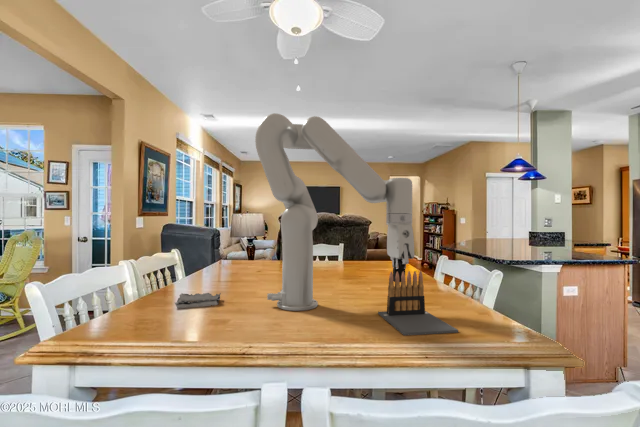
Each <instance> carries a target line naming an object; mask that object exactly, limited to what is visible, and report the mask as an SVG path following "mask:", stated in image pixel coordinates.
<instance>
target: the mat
mask: <svg viewBox="0 0 640 427" xmlns="http://www.w3.org/2000/svg"><path fill="white" fill-rule="evenodd" d="M377 314H378V315H379V316H380V317H381V318H382V319H384V321H386V322H387V323H388V324H390V325H391V326H392V327H393V328H395V330H397V331H398V332H399V333H400V334H402V335H403V336H417V335H419V336H420V335H436V334H454V333H455V334H456V333H457V334H458V333H459V330H458V329H457V328H456V327H454V326H452V325H450V324H448V323H447V322H446V321H443V320H442V319H440V318H439V317H437V316H435V315H433V314H431V313H430V312H428V311H426V310H425V314H415V315H393V316H389V315H388V314H387V310H386V311H385V310H384V311H378V313H377Z"/></svg>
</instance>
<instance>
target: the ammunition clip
mask: <svg viewBox="0 0 640 427" xmlns="http://www.w3.org/2000/svg"><path fill="white" fill-rule="evenodd" d="M388 276H389V277H388V288H387V290H388V291H387V299H386V300H387V304H386V305H387V306H386V311H387V314H388V315H389V316H393V315H415V314H425V311H426V306H425V304H426V303H425V300H426V299H425V295H424V293H425V290H424V289H425V288H424V276H423V272H422V270H420V271H419V273H418V276H417V271H416V270H414V271H413V274H412V275H411V271H410V270H408V272H407V276H406V272H405V273H404V271H403V272H402V276H401V282H399V273H398V271H397V272H396V276H395V282H394V281H393V271H390V273H389V275H388Z"/></svg>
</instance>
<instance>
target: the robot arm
mask: <svg viewBox="0 0 640 427" xmlns="http://www.w3.org/2000/svg"><path fill="white" fill-rule="evenodd" d="M254 137H255V141H254V142H255V148H256V153H257V156H258V158H259V161H260V163H261V166H262V168H263V172H264V174H265V177H266V179H267V182H268V185H269V187H270V190H271V193H272V196H273V197H274V199H275V200H277V201H279V202H281V203H283V206H284V208H285V210H283V213H282V214H281V217H280V230H281V231H280V232H281V245H282V248H281V249H282V252H281V253H282V269H281V270H282V271H281V272H282V273H281V274H282V276H281V277H282V278H281V279H282V280H281V283H282V284H281V289H280V291H278V292H277V293H272V292H271V293H267V295H266V296H267V300H269V301H277V304H276V306H277V308H279V309H281V310H284V311H293V312H301V311H303V312H304V311H309V310H314V309H316V308H318V304H319V303H318V301H317V300H316V299H315V298H314V295H313V294H314V239H313V231H314V229H316V228H317V226H318V223H319V222H318V221H319V217H318V213H317V210H316V208H315V205H314V202H313V200H312V198H311V195H310V193H309V190H308V187H307V185H306V184H305V182H304V181H303V179H302V178H300V177H299V176H297V175H296V173H295V172H294V170H293V167H292V165H291V163H290V159H289V157H288V155H287V152H286V151H285V149H291V150H315V152H317V154H318V155H319V156H320V157H321V158H322V159H323V160H324V161H325V162H326V164H328V165H329V166H330V167H331V169H333V170H334V171H335V172H336V173H338V174H339V175H341V177H342V178H343V179H345V181H347V182H348V183H349V185H350V186H351V187H353V188H354V190H355V191H356V192H358V194H359V195H360V196H361V197H362V198H363V200H365V201H366V202H368V203H370V204H379V203H386V205H385V206H386V208H385V209H386V210H385V211H386V212H385V213H386V215H385V216H386V224H385V225H387V235H386V254H387V256H389V257H390V260H391V265H392V274H393V282H394V283H395V276H396V272H397V271H398V273H399V282H400V283H401V276H402V272H403V271H404V273H405V274H406V268H407V265H409V264H410V263H409V261H410V260H414V258H415V239H414V229H413V181H412V179H410V178H408V177H393V178H389V179H385V180H384V179H383V178H382V177H381V175H379V173H378V172H376V171H375V170H374V168H372V167H371V166H370V165H369V164H368V162H366V161H365V160H364V159H363V158H362V157H361V156H360V154H358V153H357V152H356V150H355V149H353V147H352V146H351V145H350V144H349V143H347V141H346V140H345V139H344V138H343V137H342V136H340V134H339V133H338V132H337V131H336V130H335V129H334V127H332V126H331V125H330V124H329V123H328V122H327V121H326V120H325V119H323V117H320V116H316V115H314V116H310V117H308V118H306V120H304V121H303V124H300V123H299V124H298V123H297V124H296V123H293V122H291V121H290V119H289V118H287V117H286V116H285V115H282V114H280V113H270V114H268V115H266V116H265V117H264V118H262V120H261V121H260V122H259V124H258V126H257V129H256V132H255V136H254ZM409 259H410V260H409Z"/></svg>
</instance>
